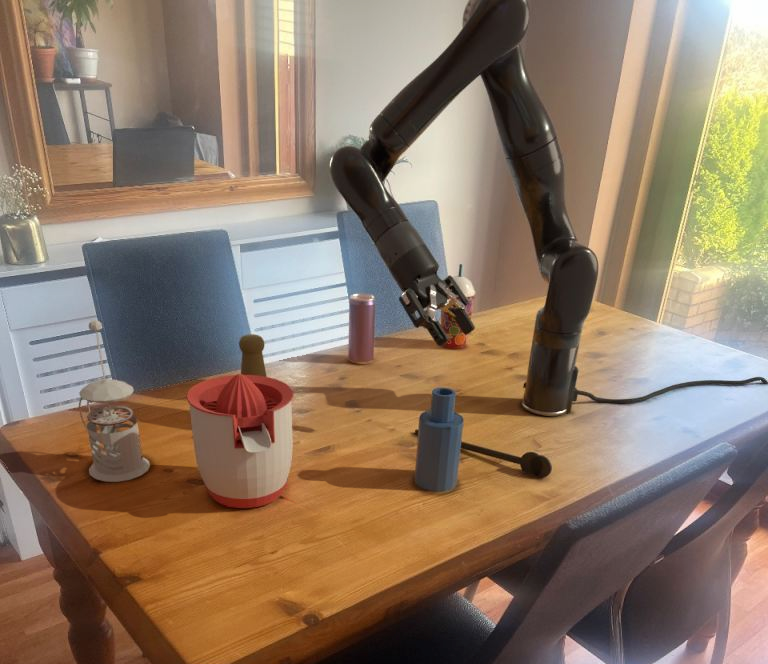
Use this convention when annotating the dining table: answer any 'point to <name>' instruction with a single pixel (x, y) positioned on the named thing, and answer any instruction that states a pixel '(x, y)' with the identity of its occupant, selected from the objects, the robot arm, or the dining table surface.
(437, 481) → the bottle
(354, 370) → the dining table surface
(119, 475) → the french press
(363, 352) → the beverage can
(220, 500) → the citrus juicer
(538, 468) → the spoon
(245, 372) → the cork
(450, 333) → the smoothie
